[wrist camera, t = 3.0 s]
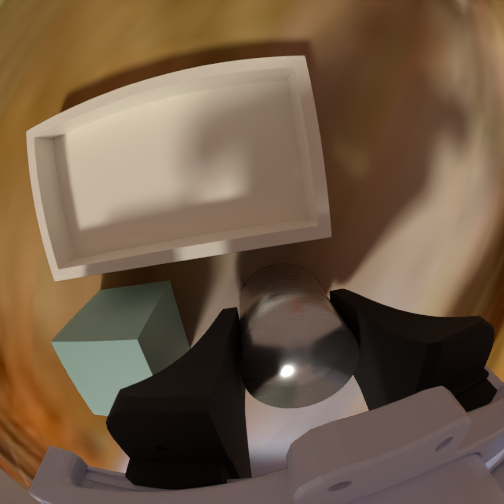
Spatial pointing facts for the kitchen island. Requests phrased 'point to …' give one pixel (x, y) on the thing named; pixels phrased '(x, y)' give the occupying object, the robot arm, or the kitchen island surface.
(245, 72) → the parts tray
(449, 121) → the kitchen island surface
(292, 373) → the silver metal cylinder
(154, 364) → the teal block
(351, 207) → the kitchen island surface
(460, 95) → the kitchen island surface
